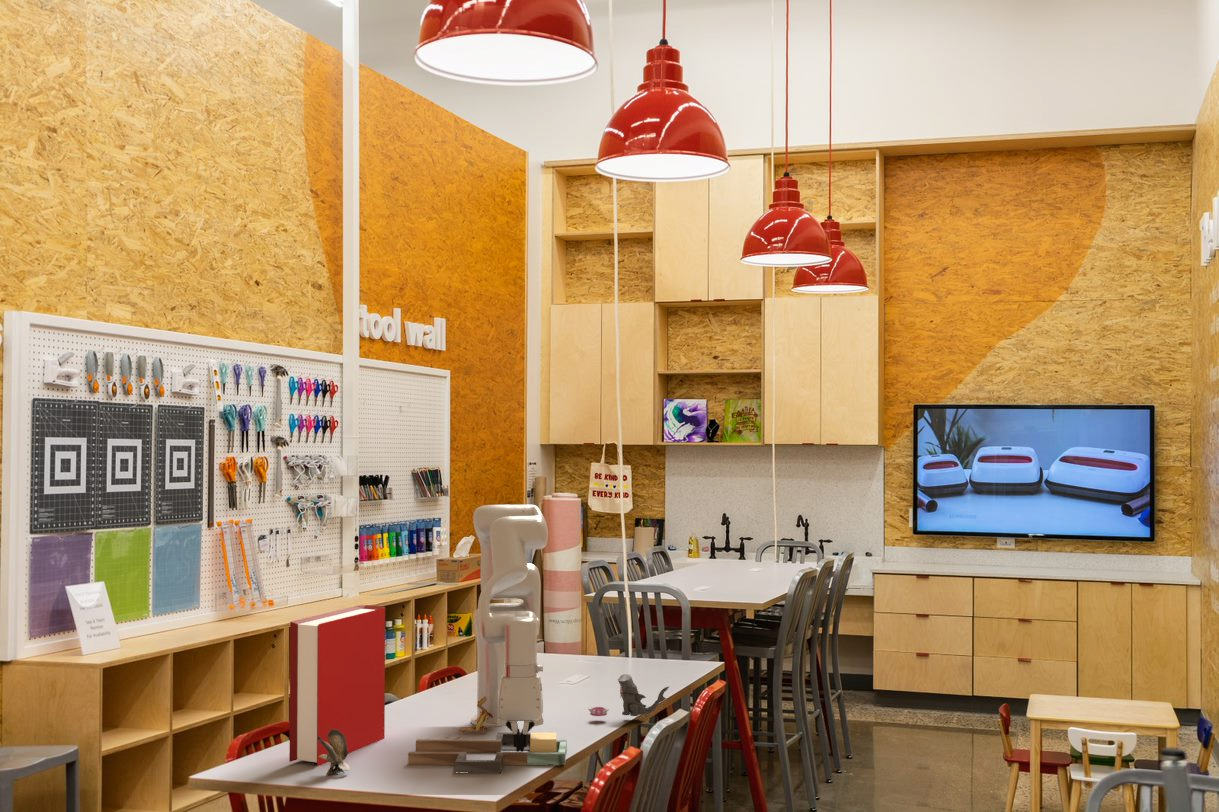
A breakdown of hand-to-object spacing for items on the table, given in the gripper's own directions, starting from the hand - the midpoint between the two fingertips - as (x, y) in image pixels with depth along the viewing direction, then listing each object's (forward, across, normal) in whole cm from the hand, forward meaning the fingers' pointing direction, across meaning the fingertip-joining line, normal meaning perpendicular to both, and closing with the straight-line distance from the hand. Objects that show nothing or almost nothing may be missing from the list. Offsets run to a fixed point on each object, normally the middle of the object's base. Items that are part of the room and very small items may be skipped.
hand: (520, 750), depth 277 cm
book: (+2, +43, -7) cm, 44 cm away
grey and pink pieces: (+2, -25, -41) cm, 48 cm away
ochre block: (+2, -5, 0) cm, 6 cm away
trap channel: (+2, +10, 0) cm, 10 cm away
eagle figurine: (+2, +40, +13) cm, 42 cm away
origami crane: (+3, +12, -19) cm, 22 cm away
